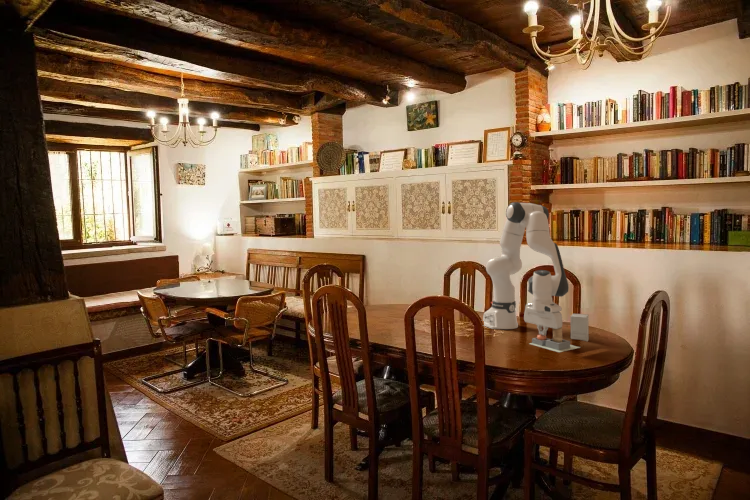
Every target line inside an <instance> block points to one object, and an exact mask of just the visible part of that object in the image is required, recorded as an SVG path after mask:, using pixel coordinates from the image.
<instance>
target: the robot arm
mask: <svg viewBox="0 0 750 500" xmlns="http://www.w3.org/2000/svg"><path fill="white" fill-rule="evenodd" d="M549 215H550V214H549V209H548V207H546V206H543V205H541V204H536V203H532V202H519V201H515V202H511V203H508V206H507V207H506V211H505V216H506V220H505V222H504V225H503V228H502V233H501V236H500V239H499V246H500V247H501V254H500V256H495V257H492V258H490V259H489V260H488V261H487V262H486V264H485V271H486V273H487V275H489V276H490V278H491V281H492V286H493V301H491V302H490V304H491V307H490V308H489V309H488V310H486V311H485V312H483V316H482V320H483V321H484V325H483V326H485V327H486V328H489V329H492V330H513V329H517V328H518V327H519V323H518V320H517V311H516V306H517V303H516V300H515V299H516V294H515V293H516V290H515V289H516V288H515V287H516V286H514V284H513V283H512V281H511V280H512V279H511V277H510V276H512V275H515V274H517V273H518V272H519V271H521V269H522V267H523V262H522V260H521V247H522V242H523V238H524V236H526V237H525V238H526V243H527V245H528V247H529V248H530V249H531V250H533V251H535V252H537V253H540V254H543V255H545V256H547V257H549V258H550V259H551V260H552V264H553V269H554V273H555V274H554V275H552V274H551V272H550V271H549V270H544V269H538V270H535V271H533V275H532V276H530V277H529V278H528V279H527V283H528V285H527V286H528V289H527V291H528V292H529V293H530V294H531V295H533V296H532V303H530V302H528V303H526V304H525V308H524V313H523V314H524V315H523V320H524V322H525V323H528V324H533V325H536V328H537V330H538V335H539V334H540V335H546V336H547V331H548V329H549V328H550V329H553V328H554V329H558V328H561V327H562V328H563V315H562V306H560V305H559V304H557V303H555V301H553V297H561V298H562V297H564V296H565V295H566V294H567V293H569V289H570V284H569V281H568V278H567V276H566V275H567V274H566V272H565V271H566V270H565V267H564V264H563V260H562V256H561V253H560V249H559V247H558V244H557V243H556V242H554V241H553V239H552V238H551V235H550V226H549ZM524 234H525V235H524Z"/></svg>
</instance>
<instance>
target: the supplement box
mask: <svg viewBox="0 0 750 500" xmlns="http://www.w3.org/2000/svg"><path fill="white" fill-rule="evenodd" d="M589 336H590V335H589V314H585V313H572V314H570V339H571V340H580V341H583V342H588V341H589Z"/></svg>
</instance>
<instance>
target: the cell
mask: <svg viewBox="0 0 750 500" xmlns="http://www.w3.org/2000/svg"><path fill="white" fill-rule="evenodd" d="M552 339H553V342H557V343H561V342H562V339H563V326H562V327H561V328H558V329H554V328H552Z"/></svg>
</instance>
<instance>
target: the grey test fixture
mask: <svg viewBox="0 0 750 500" xmlns="http://www.w3.org/2000/svg"><path fill="white" fill-rule="evenodd" d="M528 344H529V345H531V346H536V347H538V348H542V349H546V350H549V351H553V352H556V353H562V352H567V351H571V350H572V351H573V350H575V349H580V348H581V346H576V345H573V344H571V340H567V339H563V338H562V342H561V343H557V342H553V338H548V337H546V340H543V341H541V340H538V339H537V337H533V338H531V342H530V343H528Z"/></svg>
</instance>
